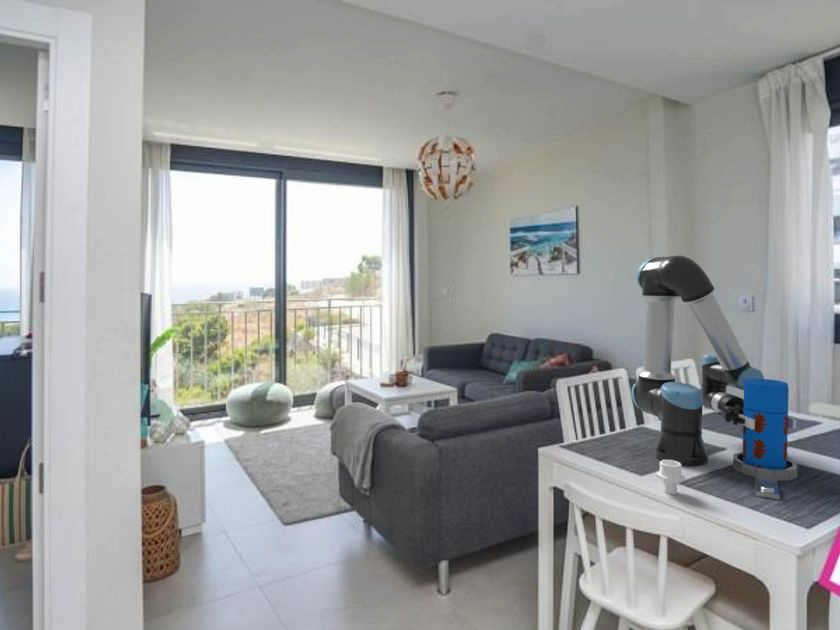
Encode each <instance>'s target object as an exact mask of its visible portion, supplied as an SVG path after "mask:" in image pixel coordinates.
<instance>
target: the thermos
mask: <svg viewBox="0 0 840 630" xmlns="http://www.w3.org/2000/svg"><path fill="white" fill-rule="evenodd" d="M789 389H790V388H789V384H788V382H785V381H782V380H776V379H768V378H764V379H747V380H745V383H744V390H743V400H744V410H743V415H744V416H746V417H749V418H751V419H753V420H755V429H750V428H748V427H746V426H744V425H742V452H743V462H744V463H747V464H750V465H753V466H757V467H763V468H770V469H786V462H787V457H788V436H789V435H788V431H789V429H788V428H789V427H788V417H789V396H790V395H789V393H790V392H789V391H790V390H789Z"/></svg>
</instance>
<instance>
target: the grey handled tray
mask: <svg viewBox="0 0 840 630" xmlns="http://www.w3.org/2000/svg"><path fill="white" fill-rule="evenodd" d="M732 459H733V460H732V462H733V463H732V468H733V469H734V470H736V471H737V472H738V473H740V474H742V475H745V476H748V477H752V478H754V486H755V496H756V497H758V498H759V497H761V498H765V499H771V500H777V501H780V500H781V499H780V498H781V497H780V490H779V485H778V482H781V481H783V482H784V481H785V482H786V481H787V482H788V481H792V480H795V479H797V478H798V465H797V462H795V461H793V460H791V459H789V458H788V456H787V462H786V469H770V468H763V467H757V466H753V465H750V464H747V463H744V462H743V451H739V452H736V453H733V457H732Z"/></svg>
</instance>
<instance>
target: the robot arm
mask: <svg viewBox="0 0 840 630" xmlns="http://www.w3.org/2000/svg"><path fill="white" fill-rule="evenodd" d="M636 282H637V285H638V286H640V289H642V290H641V291H642V293H641V294H642V295H641V296H642V298H643V299H644V300H645V301H646V308H645V309H646V312H645V333H644V353H643V369H642V371H641V372H640V373H639V372H638V377H637V380H636V381H635V383H633V385H632V387H631V390H630V394H631V399H632V402H633V403H634V405H635V406H636V407H637V408H638V409H640V410H641V412H644V413H646V414H649V415H652V416H655V417H656V418H659V419H660V433H659V437H658V439H657V441H656V444H655V447H654V456H655V458H656V459H657V460H660V461H662V460H674V461H677V462H679V463H681V466H685V467H698V466H705V465H706V464H708V462H709V454H708V450H707V447H706V445H705V442H704V440H703V407H704V408H706V409H708V410H710V411H712V412H713V411H714V412H716V413H717V415H719V416H721V417H722V418H723V420H724V421H725V422H727V423H730V422H731V421H732V425H733V426H738V425H739V424H740V425H741V426H743V425H744V426H746V427H748V428H750V429H755V420H753V419H751V418H749V417H746V416H744V415H743V410H744V398H742V397H739V396H738V395H734V394H732V393H729V392H727V386H728V387H732V388H735V389H738V390H741V391H744V383H745V380H747V379H765V377H764V374H763V372H762V371H761V370H759V369H758V368H756V367H753V366H751V363H750V362H749V360H748V358H747V357H746V354H745V353H744V351H743V349H742V347H741V345H740V343H739V341H738V339H737V337H736V335H735V333H734V331H733V329H732V327H731V326H730V324H729V322H728V320H727V318H726V316H725V313H724V312H723V310H722V309H721V306H720V304H719V302H718V299H716V297H715V294H714V292H715V287H714V285H713V283H712V281H711V280H710V277H709V276H708V275H707V273H706V272H705V270H703V268H702V267H701V266H700V265H699V264H698V263H697V262H696V261H695V260H693V259H692V258H690V257H687V256H684V255H672V256H656V257H652V258H649V259H647V260H645V261H644V262H643V263H642V264H640V266H639V268H638V270H637V272H636ZM678 299H681V301H682V302H683V303H685V304H687V305H688V306H689V308H690V310H691V312H692V314H693V316H694V317H695V320H696V322H697V323H698V325H699V327H700V328H701V331H702V332H703V335H704V336H705V337H706V340H707V342H708V343H709V345H710V347H711V350H712V351H713V353H707V354H704V355H703V356H702V361H701V362H702V363H701V386H700V387H698V386H695V385H694V384H689V383H684V382H681V381H680V382H679V381H676V379H677V378H676V377H677V376H675V375H674V374H673V373H672V358H673V354H672V353H673V341H674V340H673V339H674V338H673V335H674V334H673V333H674V319H675V317H674V316H675V315H674V314H675V303H676V301H677V300H678ZM788 428H790V429H791V430H792V429H793V430H796V429H797V419H795V418H793V417H790V416H788Z"/></svg>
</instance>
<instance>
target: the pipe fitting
mask: <svg viewBox="0 0 840 630" xmlns="http://www.w3.org/2000/svg"><path fill="white" fill-rule="evenodd" d="M655 477H656V478H657V479H658V480H660V481H663V487H662V488H663V492H664V493H665V494H668V495H676V494H678V493H677V492H678V484H681V483H682V482H684V481H685V480H686V475H684V474H683V473H682V465H681V463H679V462H677V461H674V460H660V461H659V470H658V471H657V472H656V473H655Z"/></svg>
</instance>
